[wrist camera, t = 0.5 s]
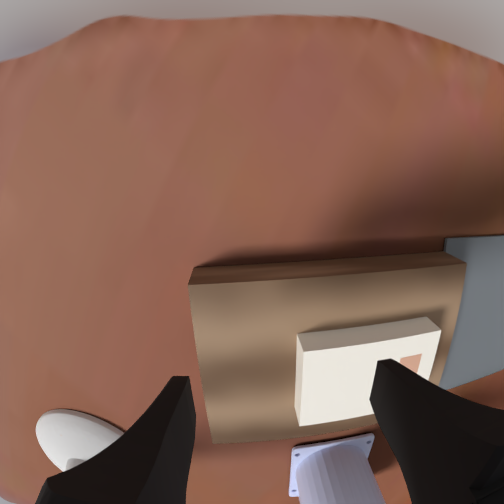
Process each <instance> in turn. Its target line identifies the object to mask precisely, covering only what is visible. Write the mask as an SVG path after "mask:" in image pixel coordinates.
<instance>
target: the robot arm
mask: <svg viewBox="0 0 504 504" xmlns="http://www.w3.org/2000/svg"><path fill="white" fill-rule="evenodd" d="M369 400H370V403H371V406H372V409H373V412H374V415H375V417H376V420H377V422H378V424H379V426H380V428H381V430H382V432H383V434H384V435H385V437H386V439H387V441H388V443H389V445H390V447H391V449H392V451H393V453H394V455H395V456H396V458H397V461H398V463H399V465H400V467H401V470H402V473H403V476H404V479H405V482H406V485H407V488H408V491H409V494H410V498H411V501H412V504H504V410H501V409H496V408H492V407H488V406H485V405H481V404H478V403H475V402H472V401H469V400H467V399H464V398H462V397H459V396H457V395H455V394H453V393H450V392H449V391H447V390H445V389H443V388H441V387H439V386H437V385H435V384H433V383H432V382H430V381H428V380H426V379H425V378H423V377H421V376H420V375H418V374H417V373H415V372H413V371H412V370H410V369H408V368H407V367H405V366H404V365H402V364H400V363H399V362H397V361H395V360H393V359H391V358H390V359H384V360H378V361H377V366H376V371H375V376H374V380H373V385H372V390H371V394H370V398H369ZM195 427H196V413H195V407H194V402H193V396H192V390H191V385H190V379H189V376H173V377H172V378H171V379H170V380H169V381H168V383H167V384H166V386H165V387H164V388H163V390H162V391H161V393H160V394H159V395H158V396H157V398H156V399H155V400H154V402H153V403H152V404H151V405H150V406H149V408H148V409H147V410H146V411H145V412H144V414H143V415H142V416H141V417H140V418H139V419H138V420H137V421H136V422H135V423H134V424H133V425H132V426H131V427H130V428H129V429H128V430H127V431H126V432H125V433H124V434H123V435H122V436H121V437H119V438H118V439H117V440H116V441H115V442H113V443H112V444H111V445H109V446H108V447H107V448H105V449H104V450H102V451H101V452H99V453H98V454H97V455H95V456H93V457H92V458H90V459H88V460H87V461H85V462H83V463H81V464H79V465H77V466H75V467H73V468H71V469H69V470H66V471H64V472H62V473H59V474H57V475H54V476H52V477H49V478H47V479H46V481H45V483H44V485H43V486H42V489H41V491H40V493H39V496H38V498H37V501H36V503H35V504H186V488H187V481H188V475H189V469H190V463H191V458H192V452H193V446H194V440H195ZM374 438H375V436H374V434H373V433H369V434H364V435H360V436H355V437H350V438H345V439H339V440H334V441H328V442H322V443H315V444H308V445H301V446H295V447H293V448H292V454H291V469H290V483H289V496H290V497H296V496H299V500H300V504H386V503H385V501H384V498H383V496H382V494H381V491H380V489H379V486H378V484H377V481H376V479H375V477H374V474H373V472H372V469H371V467H370V465H369V462H368V460H367V459H368V456H369V453H370V450H371V447H372V444H373V441H374Z"/></svg>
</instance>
